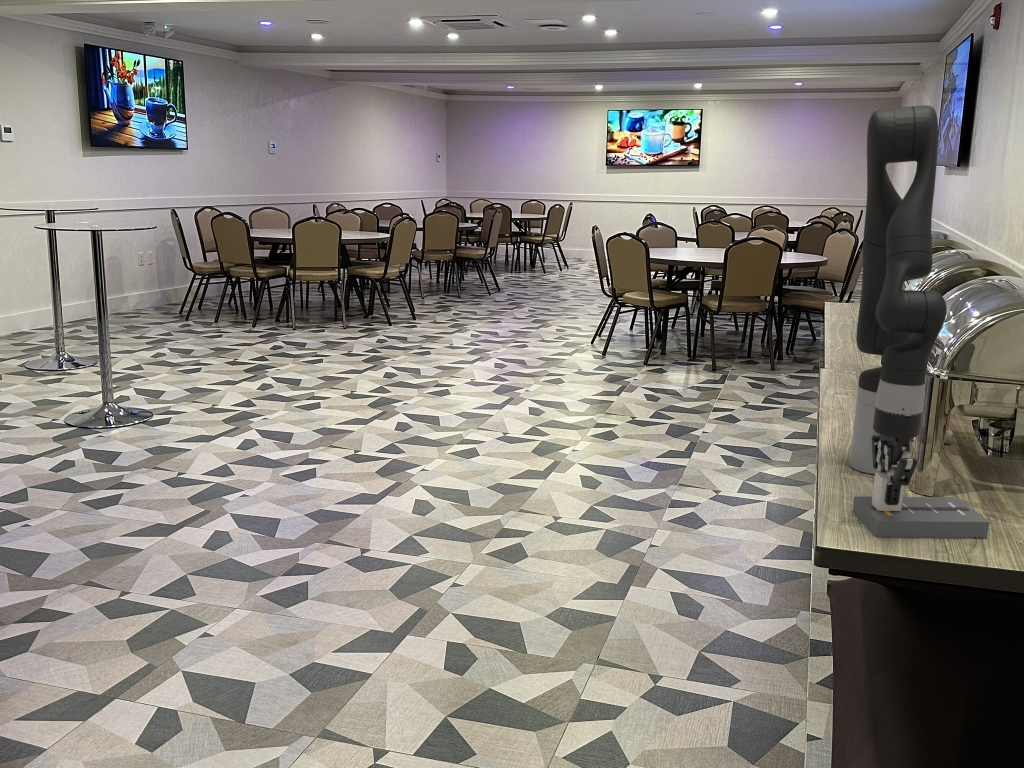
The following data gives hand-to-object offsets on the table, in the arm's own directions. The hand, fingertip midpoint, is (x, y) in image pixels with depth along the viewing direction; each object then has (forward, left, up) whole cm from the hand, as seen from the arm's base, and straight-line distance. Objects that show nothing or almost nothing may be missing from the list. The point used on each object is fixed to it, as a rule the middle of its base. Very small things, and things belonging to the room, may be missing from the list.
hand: (887, 499), depth 155 cm
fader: (0, 0, -1) cm, 1 cm away
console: (0, +6, -5) cm, 8 cm away
